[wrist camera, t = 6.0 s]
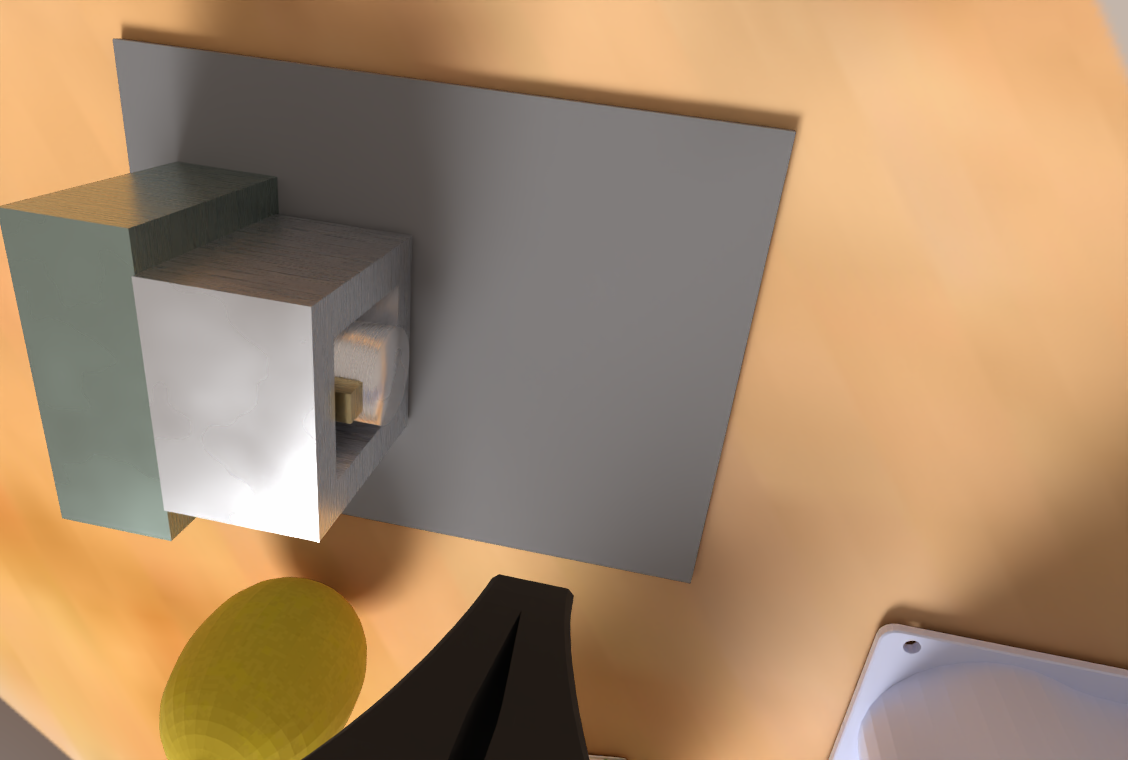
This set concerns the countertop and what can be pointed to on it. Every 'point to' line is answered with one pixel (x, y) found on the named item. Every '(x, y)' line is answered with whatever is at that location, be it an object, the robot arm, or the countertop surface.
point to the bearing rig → (111, 334)
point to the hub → (266, 370)
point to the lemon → (265, 675)
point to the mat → (514, 283)
